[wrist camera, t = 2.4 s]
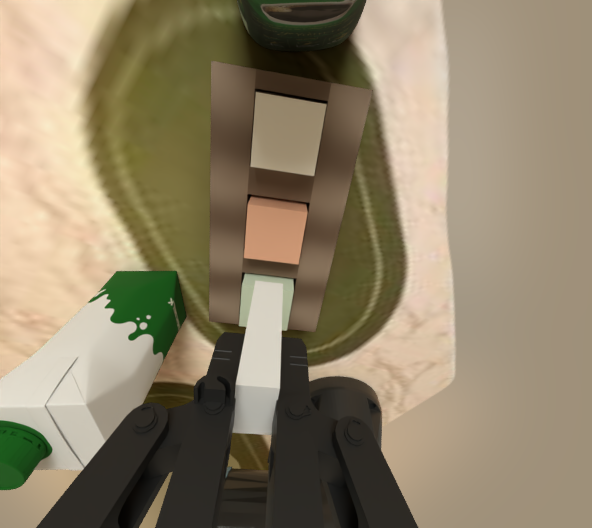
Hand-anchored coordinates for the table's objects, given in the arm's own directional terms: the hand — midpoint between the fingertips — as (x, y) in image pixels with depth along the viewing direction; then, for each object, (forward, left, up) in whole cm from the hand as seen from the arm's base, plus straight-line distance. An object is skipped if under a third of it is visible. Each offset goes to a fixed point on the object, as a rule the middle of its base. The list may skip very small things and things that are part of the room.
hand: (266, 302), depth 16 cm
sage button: (-8, 0, -14) cm, 16 cm away
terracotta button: (0, 0, -14) cm, 14 cm away
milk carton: (-13, +14, -17) cm, 26 cm away
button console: (0, 0, -17) cm, 17 cm away
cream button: (+8, 0, -14) cm, 16 cm away
